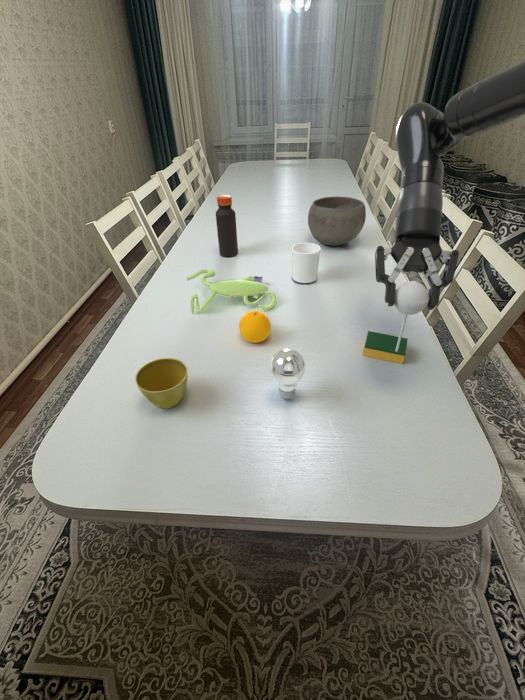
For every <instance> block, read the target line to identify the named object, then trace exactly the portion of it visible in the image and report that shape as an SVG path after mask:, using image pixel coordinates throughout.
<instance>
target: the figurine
mask: <svg viewBox="0 0 525 700" xmlns="http://www.w3.org/2000/svg"><path fill="white" fill-rule="evenodd" d="M202 274H203V275H202ZM201 275H202V276H201ZM199 276H201V278H200V282H201V284H203V285H205V286H207V287H209V290H210V291H211V294H210V295H209V296H208V298H207V299H206V301H205V302H204V304H203V305H200V302H199V297H198V294H196V293H193V294H191V298H190V307H191V308H190V309H191V313H192V315H194V314H195V304H196V309H197V310H198V311H199V312H202V311H205V310H206V309H207V308H208V306H210V304H211V302H212V301H213V300H214V298H215V296H216V295H217V294H218V295H221V296H229V297H230V298H231V299H233V298H235V297H243V303H244V304H245V305H247V306H253V305H255V304H256V303H258V302H259V301H260V300H261V299H262V298H263V297H264V296H266V295H269V296H270V297H271V303H270V304H269V305H267V306H262V305H261V304H258V305H257V306H258V308H259V309H260V310H262V311H270V310H272V309H273V308H274V307H275V305H276V303H277V296H276V294H275V293H274V292H273V291H268V290H269V287H268V285H266V284H263V276H257V275H254V276H248V277H245V278H242V279H231V280H222V281H217V282H215V283H212V282H210V281H208V280H207V279H209V278H214V277H215V276H216V272H215V271H214V270H212V269H209V268H208V269H200V270H199V271H197V272H195V273H193V274H192V275H191V274H190V275H189V276H187V277H186V280H187V281H191V280H193V279H195V278H197V277H199ZM262 294H263V295H262ZM259 295H262V296H260V297H259ZM250 297H253V299H256V300H254V301H249V299H248V298H250Z"/></svg>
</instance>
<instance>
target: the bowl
mask: <svg viewBox="0 0 525 700" xmlns="http://www.w3.org/2000/svg"><path fill="white" fill-rule="evenodd" d="M366 217H367V211H366V205H365V203H364V201H363V200H360V199H358V198H354V197H350V196H325V197H320V198H317V199H315V200H314V201H312V202H311V205H310V207H309V210H308V215H307V225H308V229H309V231H310V234H311V235H312V237H313V238H314V240H316V241H317V242H318V243H320V244H322V245H326V246H330V247H331V246H333V247H334V246H335V247H336V246H341V245H345V244H347V243H348V242H350V241H353V240H354V239H355V238H356V237H357V236H358V235H360V233H361V231H362V230H363V228H364V226H365V223H366Z"/></svg>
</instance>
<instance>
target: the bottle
mask: <svg viewBox="0 0 525 700" xmlns="http://www.w3.org/2000/svg"><path fill="white" fill-rule="evenodd" d="M216 204H217V206H218V208H217V210H216V211H215V221H216V230H217V231H216V232H217V242H218V251H219V255H220V256H221V257H223V258H234V257H235V256H237V255H238V254H239V248H238V246H239V244H238V232H237V230H238V229H237V215H236V210H235V209H234V208H233V207H232V205H233V198H232V196H231V195H229V194H221V195H218V196H217V197H216Z"/></svg>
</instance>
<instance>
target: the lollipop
mask: <svg viewBox="0 0 525 700" xmlns="http://www.w3.org/2000/svg"><path fill="white" fill-rule="evenodd" d="M428 291H429V290H428V289H427V287H426V286H425V285H424V284H422V283H421V282H419V281H413V280H411V281H406V282H403V283H401V284H399V285H398V286H397V288H396V289H395V300H394V305H393V306H394V307H395V309H396V310H397V311H398V312H399V313H401V314H403V315H404V316H403V320H402V324H401V328H400V332H399V334H398V335H399V336H398V337H399V339H398V343H397V346H396V350H395V351H396V352H398V349H399V345H400V341H401V337H403V333H404V330H405V326H406V322H407V319H408V316H413V315H417V314H419V313H421V312H422V311H424V310H425V308H427V304H428V303H429V294H428Z"/></svg>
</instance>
